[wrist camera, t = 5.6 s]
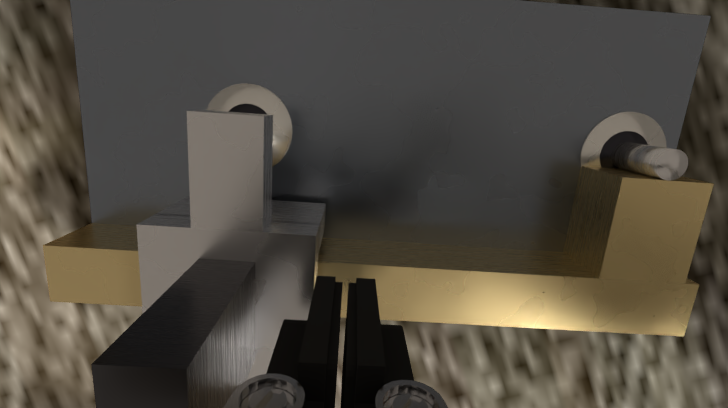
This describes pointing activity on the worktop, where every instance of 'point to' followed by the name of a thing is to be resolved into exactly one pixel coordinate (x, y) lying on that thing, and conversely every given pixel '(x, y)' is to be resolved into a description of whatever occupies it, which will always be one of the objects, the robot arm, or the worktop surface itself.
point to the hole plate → (384, 105)
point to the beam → (488, 261)
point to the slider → (214, 275)
